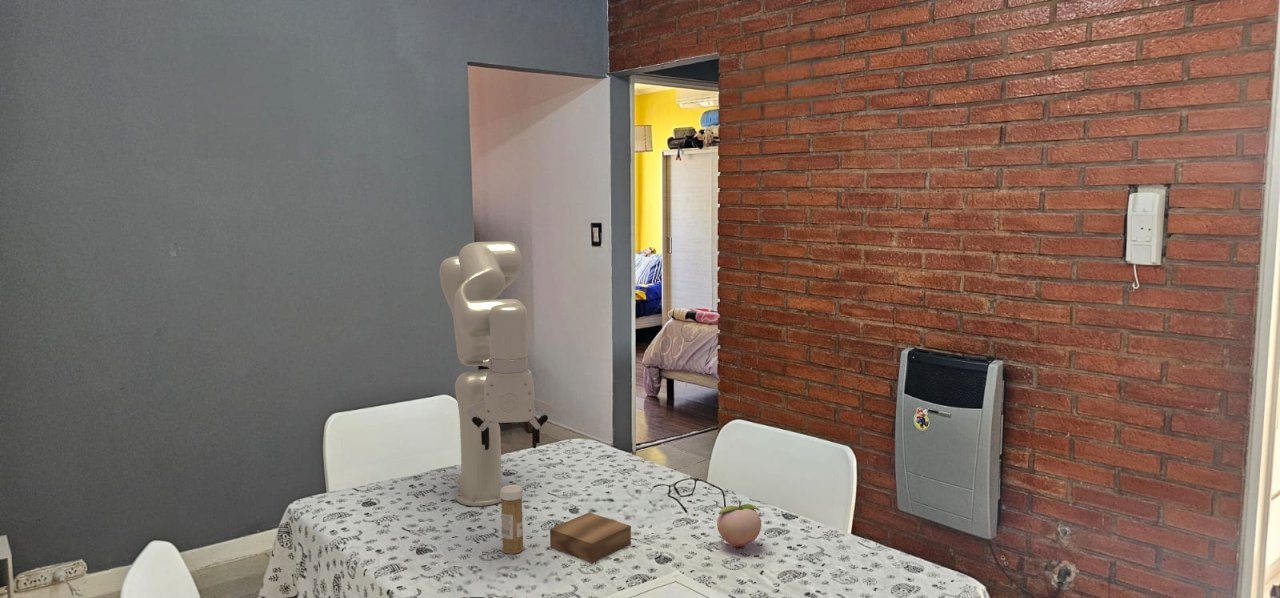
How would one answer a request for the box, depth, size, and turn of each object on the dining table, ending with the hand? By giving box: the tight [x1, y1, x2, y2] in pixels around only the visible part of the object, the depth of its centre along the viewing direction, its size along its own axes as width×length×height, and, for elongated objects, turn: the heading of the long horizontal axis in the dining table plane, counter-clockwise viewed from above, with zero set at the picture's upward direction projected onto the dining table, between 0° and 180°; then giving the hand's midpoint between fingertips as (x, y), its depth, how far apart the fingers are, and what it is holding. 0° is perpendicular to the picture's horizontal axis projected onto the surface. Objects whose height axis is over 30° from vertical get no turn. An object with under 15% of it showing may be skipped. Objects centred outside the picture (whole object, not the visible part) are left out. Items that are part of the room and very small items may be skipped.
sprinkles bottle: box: [500, 484, 524, 555], centre depth 175 cm, size 5×5×14 cm
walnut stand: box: [549, 512, 632, 564], centre depth 178 cm, size 12×12×4 cm
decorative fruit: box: [716, 501, 762, 548], centre depth 176 cm, size 9×8×10 cm
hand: (510, 447), depth 173 cm, fingers open, 9 cm apart
